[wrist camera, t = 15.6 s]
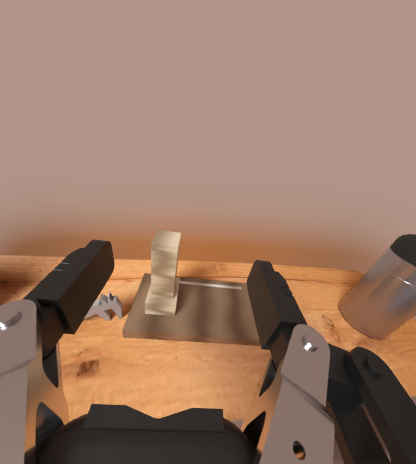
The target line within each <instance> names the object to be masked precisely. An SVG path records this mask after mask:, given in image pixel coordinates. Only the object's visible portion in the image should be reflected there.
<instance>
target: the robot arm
mask: <svg viewBox="0 0 416 464" xmlns="http://www.w3.org/2000/svg"><path fill="white" fill-rule="evenodd" d="M113 270H114V258H113V252H112V246H111V243H110V242H109V241H101V240H92V241H91V242H90V243H89V244H88V245H87V246H86V247H85V248H80V249H78V250H76V251H74V252H72V253H70V254H69V255H68V256H67V257H66V258H65V259H64V260H63V261H62V262H61V264H59V265H58V266H57V267H55V268H54V270H52V271H51V272H50V273H49V274H48V275H47V276H46V277H45V278H44V279H43V280H42V281H41V282H40V283H39V284H38V285H37V286H36V287H35V288H34V289H33V290H32V291H31V292H30V293H29V294H28V295H27V296H26V297H24V298H23V299H22V300H15V301H12V302H9V303H6V304H3V305H1V306H0V464H333V453H334V436H335V439H336V441H337V444H338V447H339V449H340V452H341V455H342V457H343V460H344V463H345V464H416V405H415V404H414V402H413V401H412V400H411V398H410V397H409V395H408V394H407V392H406V391H405V389H404V388H403V387H402V385H401V384H400V382H399V381H398V379H397V378H396V377H395V375H394V374H393V372H392V371H391V369H390V368H389V367H388V366H387V364H386V363H385V362H384V361H383V360H382V359H381V358H379V357H378V356H377V355H376V354H374V353H373V352H371V351H369V350H368V349H365V348H362V347H355V348H354V349H352V350H351V351H350V352H348V351H345V350H343V349H341V348H338V347H336V346H333V345H331V344H329V343H327V342H326V340H325V339H324V338H323V336H322V335H321V334H320V333H319V332H318V331H316V330H315V329H314V328H312V327H310V326H308V325H307V323H306V321H305V319H304V317H303V315H302V313H301V311H300V309H299V307H298V305H297V303H296V301H295V299H294V297H293V296H292V293H291V290H290V289H289V286H288V284H287V282H286V280H285V279H284V278H283V277H282V276H281V275H280V273H279V272H275V271H274V269H273V267H272V265H271V263H270V262H268V261H260V260H256V261H255V262H254V264H253V267H252V269H251V272H250V274H249V276H248V279H247V290H248V295H249V299H250V303H251V307H252V311H253V315H254V320H255V324H256V328H257V332H258V336H259V340H260V344H261V349H268V350H270V352H271V355H272V356H271V358H270V360H269V362H268V365H267V368H266V370H265V373H264V376H263V378H262V381H261V384H260V386H259V389H258V392H257V394H256V397H255V399H254V401H253V403H252V405H251V407H250V408H249V410H248V412H247V415H246V417H245V419H244V422H243V424H242V427H241V429H239V428H238V427H237V426H236V425H235V424H233V423H232V422H230V421H229V420H227V419H225V418H223V409H206V408H191V409H187V410H184V411H181V412H178V413H175V414H172V415H169V416H166V417H163V418H160V419H156V418H153V417H151V416H149V415H146V414H144V413H142V412H140V411H137V410H135V409H133V408H131V407H128V406H126V405H103V404H92V405H91V407H90V410H89V412H88V414H85V415H83V416H80V417H78V418H76V419H74V420H72V421H70V422H69V412H68V406H67V402H66V399H65V396H64V392H63V386H62V374H61V361H60V349H59V342H58V341H59V340H60V338H61V337H62V335H63V334H75V332H76V331H77V329H78V328H79V326H80V324H81V323H82V321H83V320H84V318H85V316H86V315H87V313H88V312H89V310H90V308H91V307H92V305H93V303H94V302H95V300H96V299H97V297H98V295H99V294H100V292H101V291H102V289H103V287H104V286H105V284H106V282H107V281H108V279H109V278H110V276H111V274H112V272H113ZM339 310H340V312H341V314H342V315H343V317H344V318H345V319H346V320H347V322H349V323H350V324H351V325H352V326H353V327H354V328H355V329H357V330H358V331H360V332H361V333H363V334H365V335H366V336H369V337H371V338H374V339H385V338H386V337H387V336H389V335H390V334H391V333H393V332H394V331H395V330H397V329H398V328H400V327H401V326H402V325H404V324H405V323H406V322H408V321H409V320H410V319H412V318H413V317H414V316H416V235H414V234H408V235H402V236H400V237H399V238H397V239H396V240H395V242H394V243H393V244H392V245H391V246H390V247H389V248H388V249H387V250H386V251H385V253H384V254H383V255H382V256H381V257H380V258H379V259H378V261H377V262H376V263H375V264H374V265H373V266H372V267H371V268H370V269H369V271H368V272H367V273H366V274H365V275H364V276H363V277H362V278H361V279H360V280H359V282H358V283H357V284H356V285H355V286H354V287H353V288H352V289H351V290H350V292H349V293H348V294H347V295H346V296H345V297H344V298H343V299H342V300H341V302H340V303H339ZM364 405H365V406H366V408H367V410H368V412H369V414H370V416H371V418H372V419H373V422H374V423H375V425H376V427H377V429H378V431H379V433H380V435H381V437H382V439H383V441H384V443H385V445H386V447H387V449H388V451H389V454H390V458H391V463H390V461H389V459H388V457H387V455H386V454H385V452H384V450H383V448H382V446H381V444H380V442H379V440H378V438H377V436H376V434H375V432H374V430H373V428H372V426H371V424H370V422H369V420H368V418H367V416H366V414H365V412H364V410H363V408H362V406H364Z"/></svg>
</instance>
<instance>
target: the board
mask: <svg viewBox="0 0 416 464" xmlns="http://www.w3.org/2000/svg"><path fill="white" fill-rule="evenodd" d="M178 278H180V282H179V290H178V297H177V304H176V311H175V316H169V315H156V314H145V301H146V297H147V294H148V291H149V288H150V285H151V274H146V273H145V274H144V276H143V279H142V281H141V284H140V287H139V289H138V292H137V294H136V297H135V300H134V302H133V305H132V307H131V310H130V312H129V315H128V318H127V320H126V323H125V325H124V328H123V337H126V338H143V339H159V340H176V341H193V342H209V343H226V344H243V345H260V346H261V344H260V340H259V336H258V332H257V328H256V324H255V320H254V315H253V311H252V307H251V303H250V299H249V295H248V290H247V284H244V283H234V282H224V281H215V280H205V279H195V278H185V277H178Z"/></svg>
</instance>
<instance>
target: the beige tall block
mask: <svg viewBox="0 0 416 464" xmlns="http://www.w3.org/2000/svg"><path fill="white" fill-rule="evenodd" d="M180 237H181V233H175V232H168V231H161V230H157V232H156V234H155V237H154V239H153V241H152V244H151V285H150V288H149V291H148V294H147V297H146V301H145V314H156V315H169V316H175V311H176V304H177V297H178V290H179V282H180V278H178V277H176V274H177V265H178V256H179V245H180Z"/></svg>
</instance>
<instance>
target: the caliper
mask: <svg viewBox="0 0 416 464" xmlns="http://www.w3.org/2000/svg"><path fill="white" fill-rule="evenodd" d="M109 309H113V311H114V312H115V313H116V315H117V316H118V318H119V319H120V318H121V317H122V313H123V311H122V303H121V301H120V300H119V298H118V297H117V295H116V296H112V294H111V293H110V292H109V294H108V297H107V296H105V295H103V294H101V296H100V299H98V300H95V302H94V303H93V305H92V307H91V308H90V310H89V312H88V313H87V315H86V316H85V318H84V319H86V318H88V317H90V316H92V315H95V314H97V315H99V316H100V317H102V318H104V319H105V320H107V321H109V320H111V316H112V315H111V314H110V311H109Z"/></svg>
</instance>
